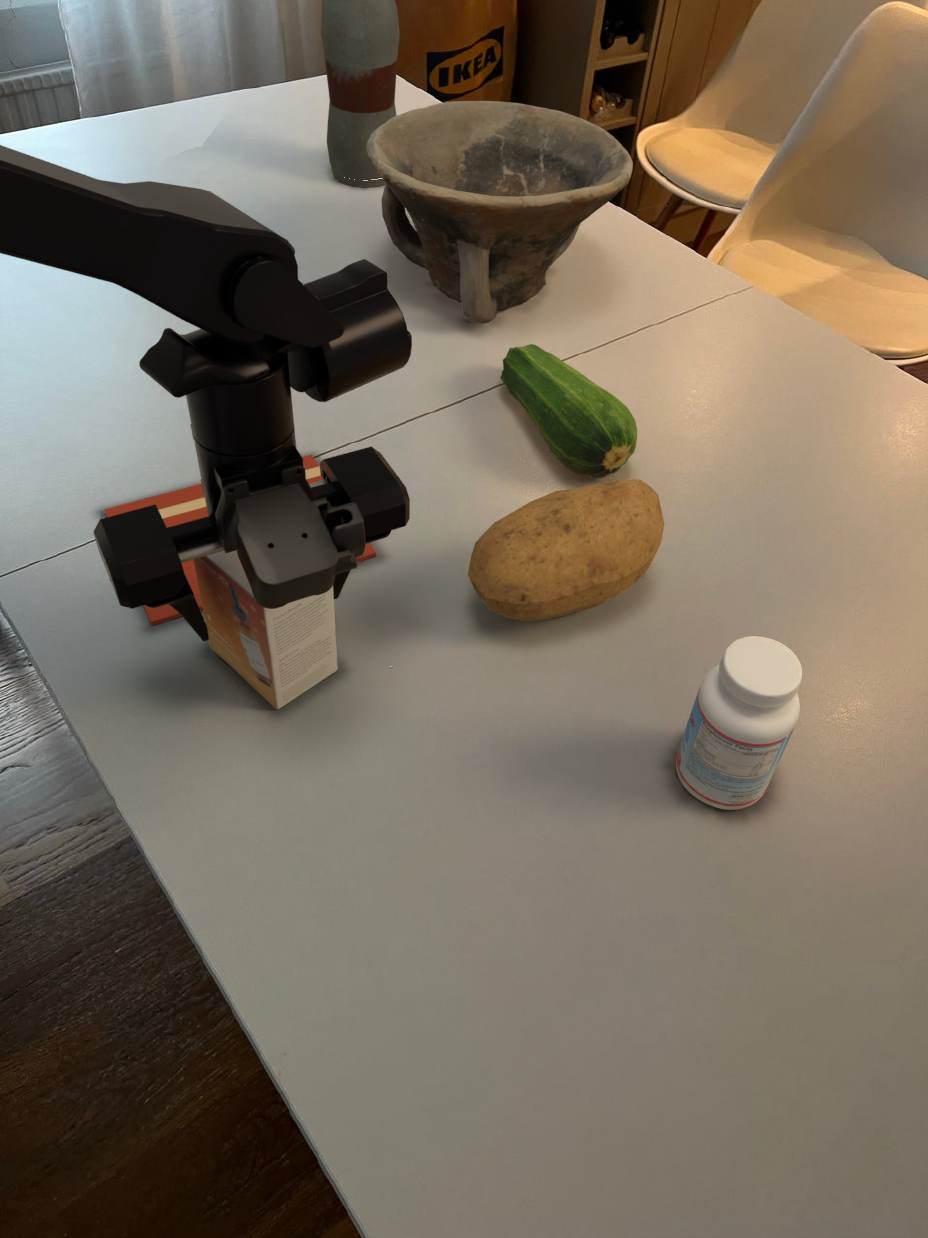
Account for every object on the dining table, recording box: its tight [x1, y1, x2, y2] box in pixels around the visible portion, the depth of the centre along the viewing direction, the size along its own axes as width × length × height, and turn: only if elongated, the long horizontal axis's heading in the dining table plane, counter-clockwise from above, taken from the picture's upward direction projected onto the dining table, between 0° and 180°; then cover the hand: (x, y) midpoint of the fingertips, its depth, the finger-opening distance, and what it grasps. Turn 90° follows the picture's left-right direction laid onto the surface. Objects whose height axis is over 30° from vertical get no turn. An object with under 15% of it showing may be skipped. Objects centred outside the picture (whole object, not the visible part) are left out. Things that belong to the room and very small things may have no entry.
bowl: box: [366, 100, 634, 324], centre depth 106 cm, size 27×26×15 cm
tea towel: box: [103, 454, 377, 626], centre depth 81 cm, size 18×14×1 cm
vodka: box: [320, 0, 401, 189], centre depth 119 cm, size 9×9×30 cm
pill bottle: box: [675, 635, 803, 811], centre depth 62 cm, size 6×6×11 cm
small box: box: [193, 550, 339, 710], centre depth 68 cm, size 8×6×10 cm
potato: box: [467, 478, 665, 622], centre depth 74 cm, size 9×16×9 cm, turn 113°
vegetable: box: [499, 343, 638, 479], centre depth 90 cm, size 7×7×20 cm
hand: (269, 615), depth 68 cm, fingers open, 9 cm apart
